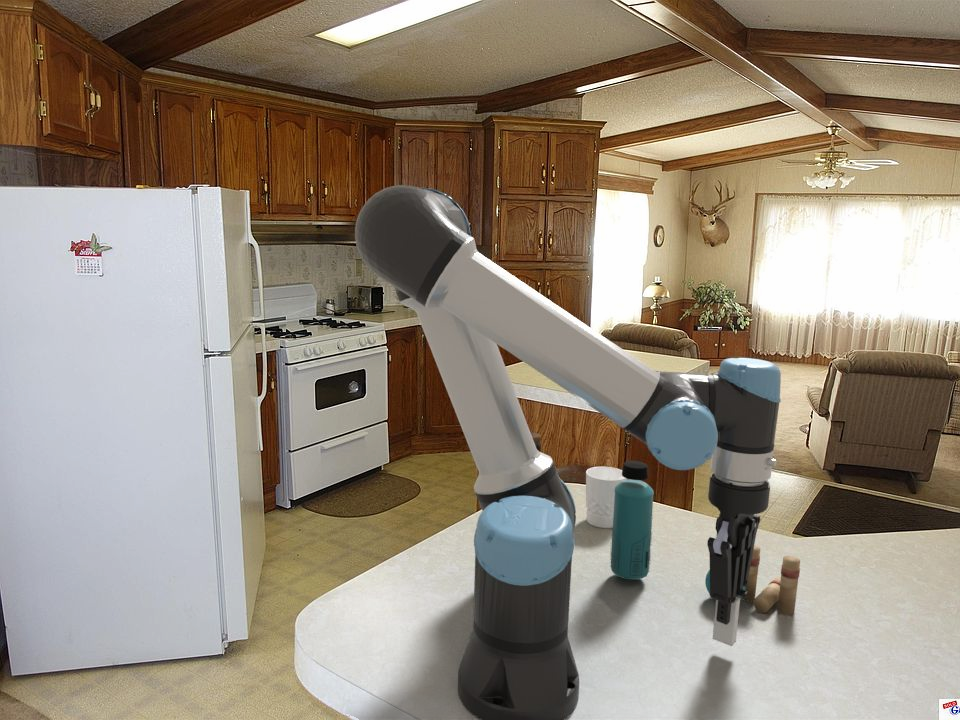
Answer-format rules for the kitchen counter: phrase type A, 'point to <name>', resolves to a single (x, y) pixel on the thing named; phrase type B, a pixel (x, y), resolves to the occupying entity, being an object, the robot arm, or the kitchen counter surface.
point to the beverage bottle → (632, 523)
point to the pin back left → (753, 575)
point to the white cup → (601, 495)
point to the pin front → (768, 596)
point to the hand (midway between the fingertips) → (724, 640)
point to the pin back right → (788, 585)
